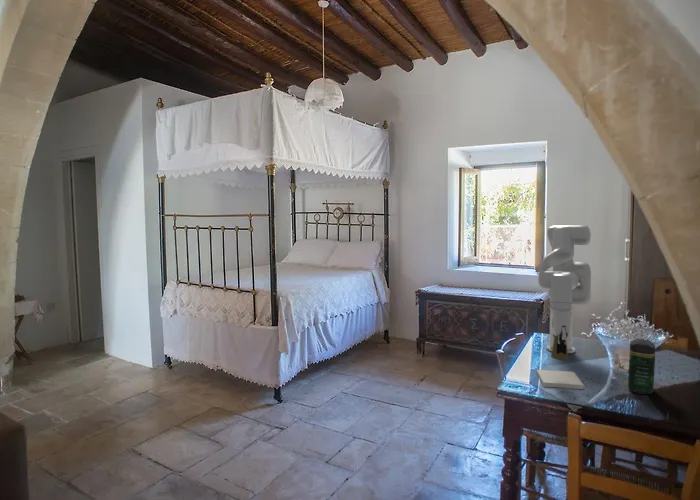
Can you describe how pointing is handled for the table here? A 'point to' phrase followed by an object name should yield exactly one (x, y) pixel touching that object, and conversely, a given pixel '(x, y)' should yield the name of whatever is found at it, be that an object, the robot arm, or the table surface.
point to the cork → (554, 350)
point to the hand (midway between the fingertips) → (559, 351)
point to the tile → (559, 379)
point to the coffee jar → (641, 366)
